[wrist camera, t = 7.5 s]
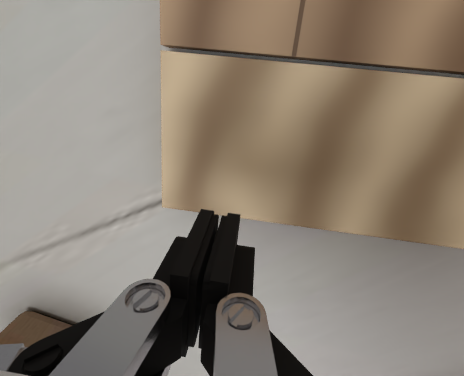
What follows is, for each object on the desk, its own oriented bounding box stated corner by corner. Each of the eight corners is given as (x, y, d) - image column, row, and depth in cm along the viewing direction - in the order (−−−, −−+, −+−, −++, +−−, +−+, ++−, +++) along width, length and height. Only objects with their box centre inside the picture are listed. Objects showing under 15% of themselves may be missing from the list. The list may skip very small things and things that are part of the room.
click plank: (550, 89, 14) (579, 89, 13) (471, 240, 18) (487, 252, 17) (169, 53, 16) (160, 50, 15) (168, 199, 20) (162, 207, 18)
